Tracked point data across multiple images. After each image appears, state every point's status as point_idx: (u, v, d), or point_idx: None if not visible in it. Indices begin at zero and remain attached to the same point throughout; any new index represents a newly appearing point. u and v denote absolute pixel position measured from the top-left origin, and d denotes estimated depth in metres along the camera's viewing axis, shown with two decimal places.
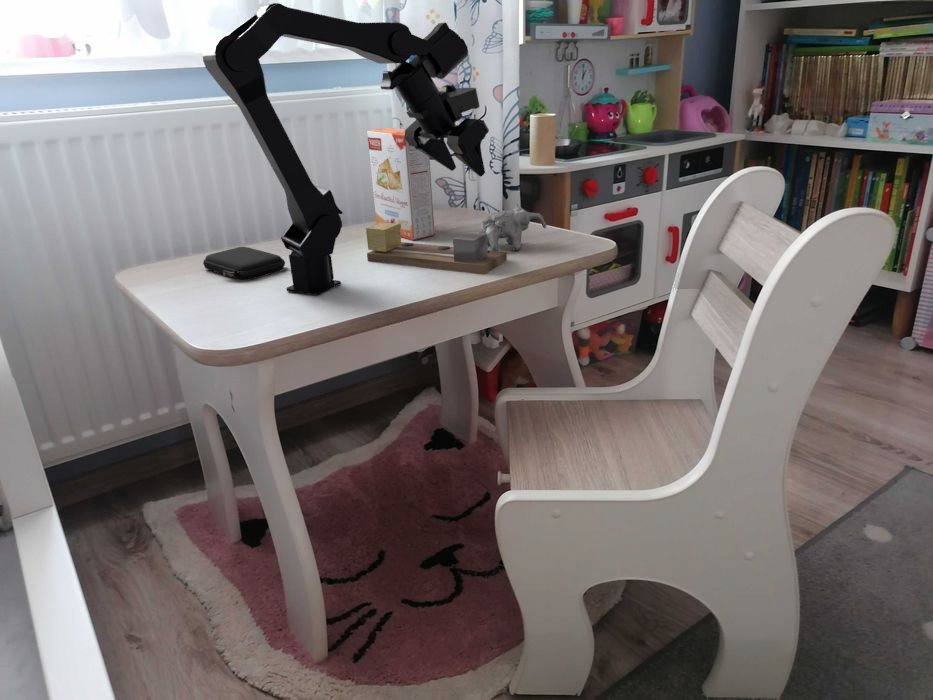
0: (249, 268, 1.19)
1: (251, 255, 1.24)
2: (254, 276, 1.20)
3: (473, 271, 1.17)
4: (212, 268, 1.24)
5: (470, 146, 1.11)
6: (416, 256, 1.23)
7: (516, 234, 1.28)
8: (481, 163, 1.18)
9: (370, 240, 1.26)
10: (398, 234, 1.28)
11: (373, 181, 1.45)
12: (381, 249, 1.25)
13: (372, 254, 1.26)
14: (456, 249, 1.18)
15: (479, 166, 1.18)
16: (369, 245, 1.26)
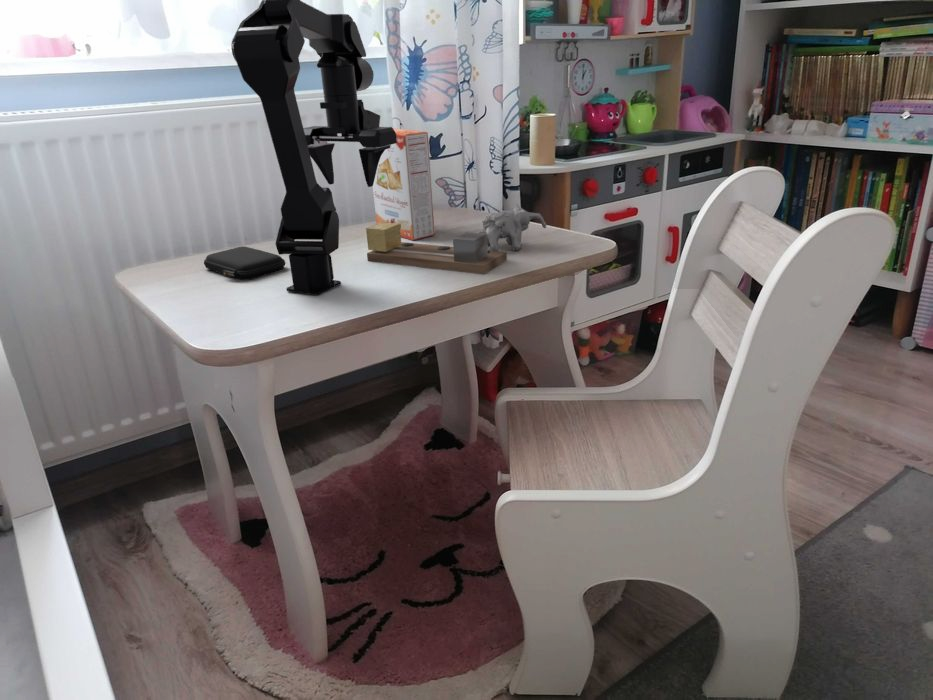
0: (249, 268, 1.19)
1: (251, 255, 1.24)
2: (254, 276, 1.20)
3: (473, 271, 1.17)
4: (212, 268, 1.24)
5: (383, 144, 1.18)
6: (416, 256, 1.23)
7: (516, 234, 1.28)
8: (374, 174, 1.24)
9: (370, 240, 1.26)
10: (398, 234, 1.28)
11: None
12: (381, 249, 1.25)
13: (372, 254, 1.26)
14: (456, 249, 1.18)
15: (372, 175, 1.24)
16: (369, 245, 1.26)
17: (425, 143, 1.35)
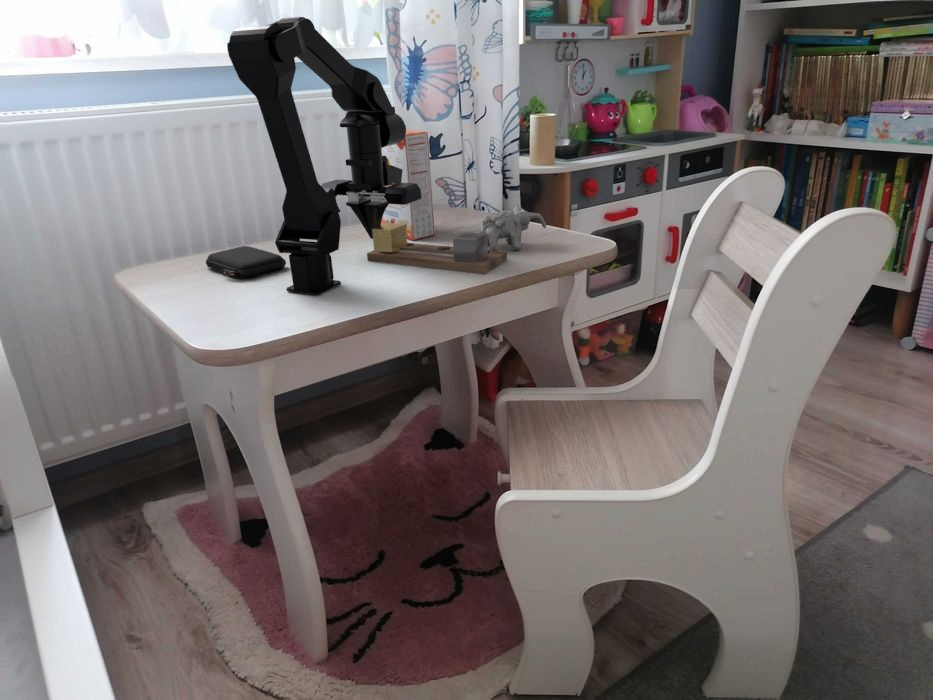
0: (249, 267, 1.19)
1: (252, 254, 1.25)
2: (254, 275, 1.20)
3: (473, 271, 1.17)
4: (214, 267, 1.25)
5: (409, 201, 1.20)
6: (416, 256, 1.23)
7: (516, 234, 1.28)
8: None
9: (376, 241, 1.25)
10: (404, 235, 1.27)
11: None
12: (387, 250, 1.25)
13: (372, 254, 1.26)
14: (456, 249, 1.18)
15: None
16: (375, 246, 1.26)
17: (425, 143, 1.35)
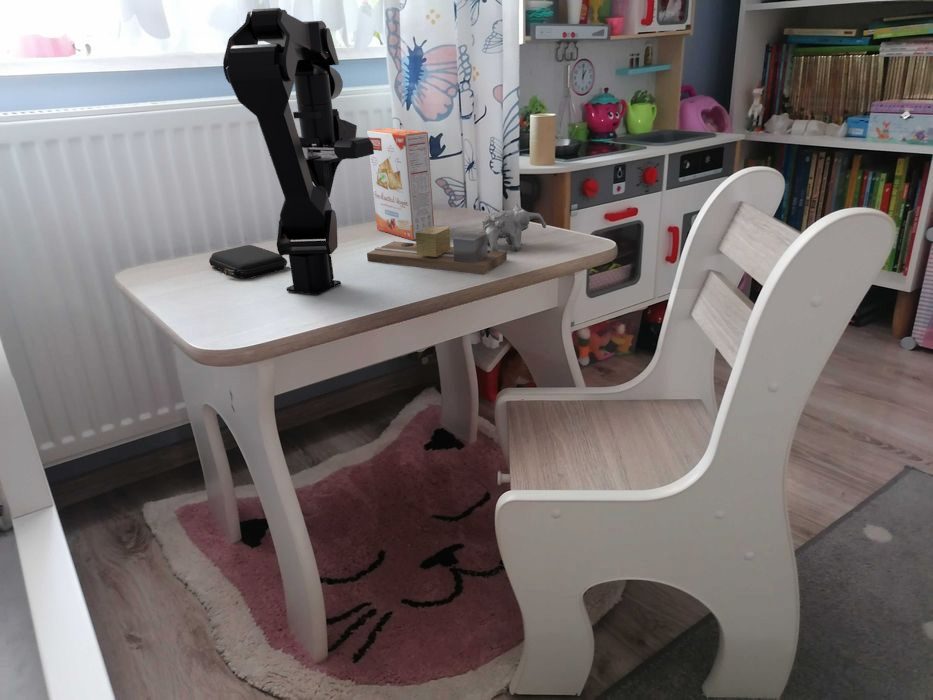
0: (249, 267, 1.20)
1: (254, 254, 1.25)
2: (254, 275, 1.21)
3: (473, 271, 1.17)
4: (216, 266, 1.25)
5: (359, 155, 1.14)
6: (416, 256, 1.23)
7: (515, 234, 1.28)
8: (331, 185, 1.21)
9: (419, 245, 1.21)
10: (448, 238, 1.23)
11: (373, 181, 1.45)
12: (431, 254, 1.21)
13: (372, 254, 1.26)
14: (456, 249, 1.18)
15: (328, 186, 1.21)
16: (418, 250, 1.22)
17: (425, 143, 1.35)
